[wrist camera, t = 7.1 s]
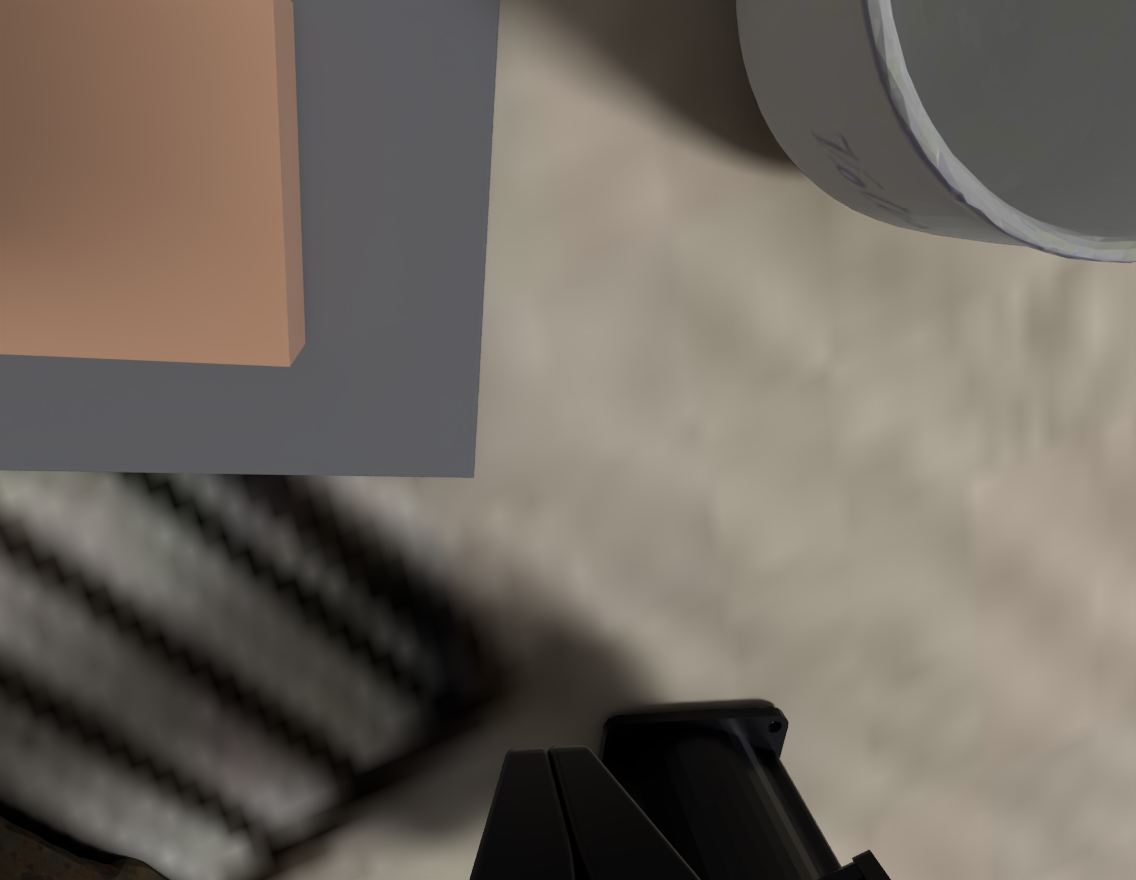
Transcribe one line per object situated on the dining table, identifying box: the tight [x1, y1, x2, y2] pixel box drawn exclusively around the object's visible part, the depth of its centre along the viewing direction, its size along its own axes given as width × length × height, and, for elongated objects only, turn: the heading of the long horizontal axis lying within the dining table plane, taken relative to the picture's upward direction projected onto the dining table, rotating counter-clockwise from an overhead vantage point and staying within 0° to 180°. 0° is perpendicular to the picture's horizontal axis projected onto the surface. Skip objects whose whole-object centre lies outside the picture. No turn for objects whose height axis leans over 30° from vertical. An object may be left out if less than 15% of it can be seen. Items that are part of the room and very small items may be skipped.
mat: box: [0, 0, 500, 478], centre depth 15 cm, size 16×14×1 cm
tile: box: [0, 0, 305, 367], centre depth 14 cm, size 2×7×8 cm
